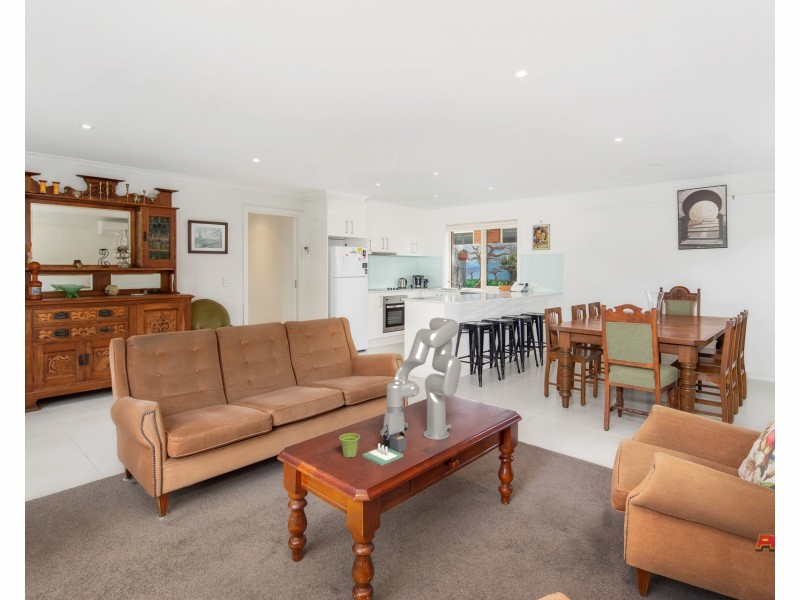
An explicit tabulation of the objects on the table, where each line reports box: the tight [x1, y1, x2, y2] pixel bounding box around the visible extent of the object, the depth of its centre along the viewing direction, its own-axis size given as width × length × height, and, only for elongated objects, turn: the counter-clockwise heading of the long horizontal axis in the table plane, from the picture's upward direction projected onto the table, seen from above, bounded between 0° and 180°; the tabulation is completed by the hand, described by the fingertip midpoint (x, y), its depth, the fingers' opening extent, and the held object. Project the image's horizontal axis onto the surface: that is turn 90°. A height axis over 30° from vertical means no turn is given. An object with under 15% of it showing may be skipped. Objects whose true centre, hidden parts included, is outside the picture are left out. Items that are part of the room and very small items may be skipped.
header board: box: [362, 442, 404, 467], centre depth 207 cm, size 13×13×5 cm
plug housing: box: [387, 433, 407, 453], centre depth 216 cm, size 5×10×6 cm, turn 44°
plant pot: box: [338, 432, 361, 459], centre depth 208 cm, size 9×9×9 cm
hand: (394, 444), depth 216 cm, fingers open, 9 cm apart
